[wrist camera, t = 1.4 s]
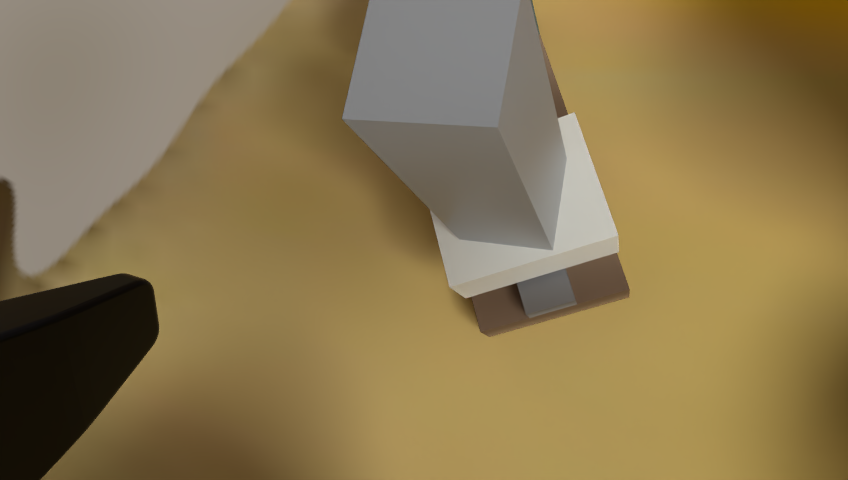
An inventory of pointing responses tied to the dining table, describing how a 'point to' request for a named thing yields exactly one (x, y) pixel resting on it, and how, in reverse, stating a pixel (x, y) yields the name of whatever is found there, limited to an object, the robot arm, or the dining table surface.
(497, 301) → the rail bed
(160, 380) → the dining table surface
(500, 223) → the carriage
